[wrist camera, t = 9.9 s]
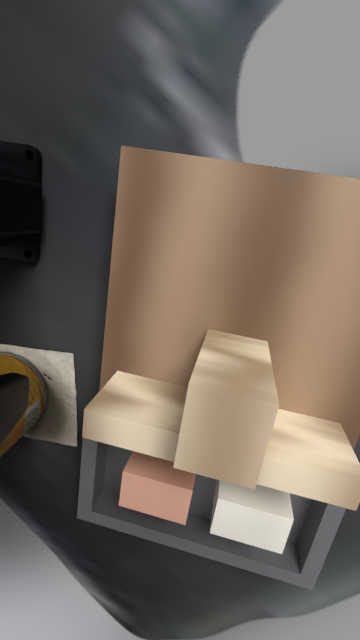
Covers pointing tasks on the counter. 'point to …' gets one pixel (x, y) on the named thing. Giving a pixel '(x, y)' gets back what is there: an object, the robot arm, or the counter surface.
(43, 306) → the counter surface
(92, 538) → the counter surface
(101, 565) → the counter surface
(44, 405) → the condiment
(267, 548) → the tile cream
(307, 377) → the plate
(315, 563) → the tray
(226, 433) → the t-shaped wooden block
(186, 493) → the tile terracotta
